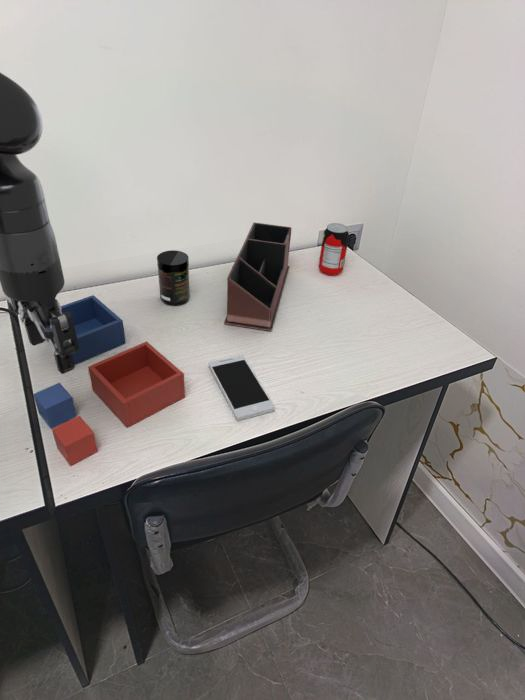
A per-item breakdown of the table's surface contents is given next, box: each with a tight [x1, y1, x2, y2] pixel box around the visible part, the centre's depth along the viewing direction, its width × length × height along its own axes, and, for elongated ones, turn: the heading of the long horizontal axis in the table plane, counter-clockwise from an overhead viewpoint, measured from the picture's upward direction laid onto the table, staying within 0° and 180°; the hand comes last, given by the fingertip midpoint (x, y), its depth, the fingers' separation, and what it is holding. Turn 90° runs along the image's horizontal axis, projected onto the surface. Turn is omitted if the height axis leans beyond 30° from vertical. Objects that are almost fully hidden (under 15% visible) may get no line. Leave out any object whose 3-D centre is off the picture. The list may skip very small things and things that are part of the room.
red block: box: [51, 415, 99, 467], centre depth 75 cm, size 4×4×4 cm
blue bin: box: [45, 294, 127, 366], centre depth 97 cm, size 12×12×6 cm
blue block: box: [32, 382, 78, 430], centre depth 81 cm, size 4×4×4 cm
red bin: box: [87, 340, 186, 429], centre depth 86 cm, size 12×12×6 cm
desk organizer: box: [223, 222, 292, 332], centre depth 113 cm, size 10×29×11 cm, turn 170°
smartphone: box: [208, 354, 275, 421], centre depth 90 cm, size 7×15×1 cm, turn 23°
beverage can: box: [318, 222, 350, 277], centre depth 124 cm, size 6×6×12 cm
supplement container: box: [156, 250, 191, 307], centre depth 109 cm, size 7×7×10 cm
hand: (52, 356), depth 72 cm, fingers open, 8 cm apart
